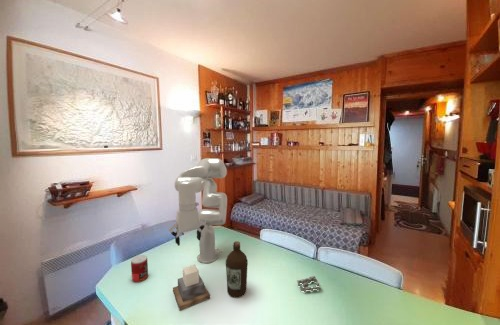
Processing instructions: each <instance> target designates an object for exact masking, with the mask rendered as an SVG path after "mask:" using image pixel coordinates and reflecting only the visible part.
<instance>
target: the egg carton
mask: <svg viewBox="0 0 500 325" xmlns="http://www.w3.org/2000/svg"><path fill="white" fill-rule="evenodd" d="M311 281H314V282H316V284H315V285H312V286H313V288H311V287H310V286H309V284H308V283H310V282H311ZM296 282H297V287H298V286H300V288H299V290H301V291H304V292H306V290H311V291H313V289H317V290H319V288H320V289H321V287H322V286H321V284H320V282H319V281H318V278H316V276H315V275H312V276H310V277H306V278H303V279H299V280H298V279H297V280H296ZM300 283H302V284H303V285H302V284H300ZM316 285H317V286H319V287H316ZM303 287H304V288H303ZM301 291H300V292H301ZM319 291H320V290H319ZM313 292H314V291H313ZM306 293H307V292H306Z"/></svg>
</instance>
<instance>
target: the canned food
mask: <svg viewBox="0 0 500 325" xmlns="http://www.w3.org/2000/svg"><path fill="white" fill-rule="evenodd" d="M148 265H149V264H148V256H147V255H145V254H139V255H136V256H134V257H132V258H131V260H130V269H131V279H132V281H133V283H140V282H143V281H145V280H146V279H147V278H148V276H149V269H148V268H149V267H148Z"/></svg>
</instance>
